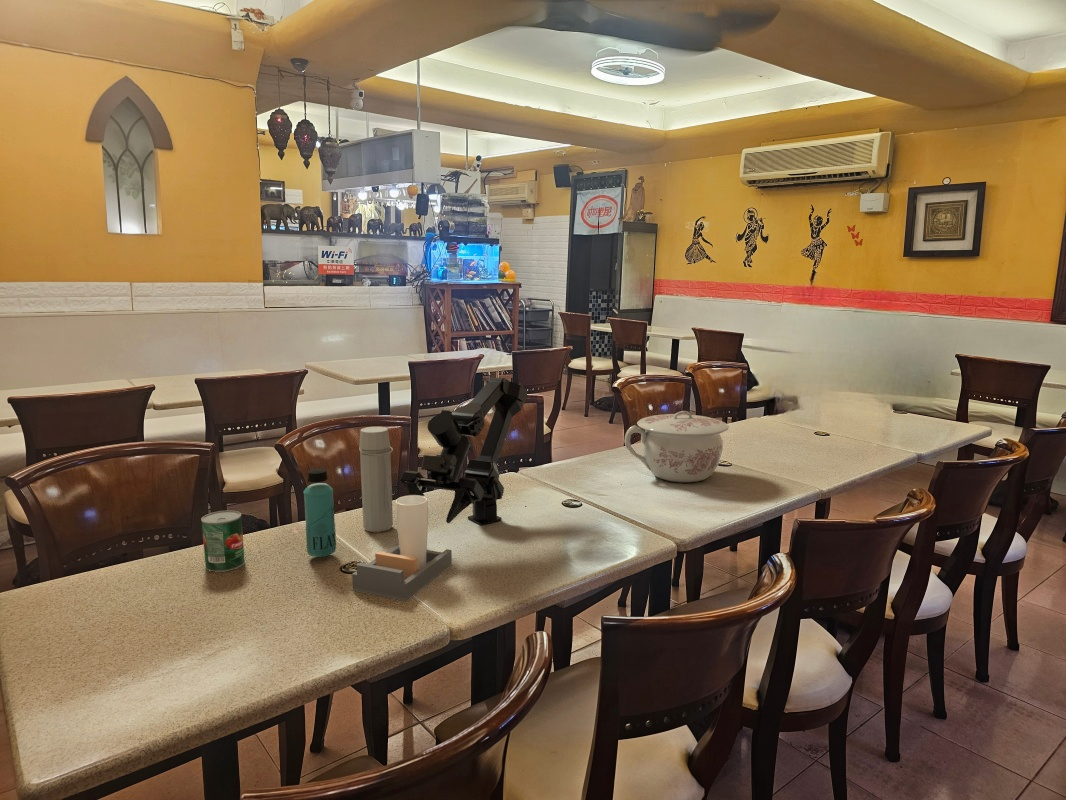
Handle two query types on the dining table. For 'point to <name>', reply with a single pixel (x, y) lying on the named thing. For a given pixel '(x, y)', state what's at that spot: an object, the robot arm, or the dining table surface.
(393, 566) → the block
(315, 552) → the beverage bottle
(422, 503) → the drinking glass
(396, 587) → the gray tray
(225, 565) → the canned tomato
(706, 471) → the chamber pot
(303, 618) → the dining table surface
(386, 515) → the water bottle
